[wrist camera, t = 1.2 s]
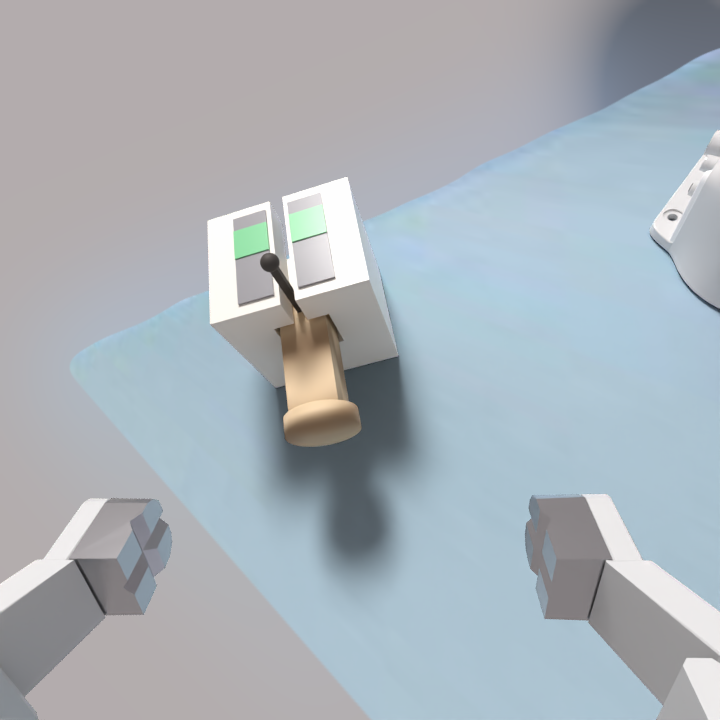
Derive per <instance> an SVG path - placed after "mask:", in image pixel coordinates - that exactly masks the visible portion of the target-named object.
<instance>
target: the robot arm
mask: <svg viewBox="0 0 720 720" xmlns="http://www.w3.org/2000/svg"><path fill="white" fill-rule="evenodd" d="M668 219H673V220H674V221H670V220H668ZM650 234H651V236H652V237H653V239H654V240H655V241H656V242H657V243H659V244H660V245H661V246H662V247H663V248H664V249H666V250H667V251H668V252H669V253H670V255H671V257H672V258H673V260H674V263H675V265H676V267H677V270H678V272H679V273H680V275H681V277H682V278H683V280H684V281H685V282H686V283H687V285H688V286H689V287H690V288H691V289H692V290H693V291H694V292H695V293H696V294H698V295H699V296H700V297H701V298H703V299H704V300H705V301H707V302H709V303H710V304H712V305H714V306H715V307H717V308H719V309H720V130H717V131H716V133H715V134H714V136H713V137H712V139H711V141H710V142H709V144H708V146H707V148H706V150H705V152H704V154H703V156H702V157H701V158H700V160H699V161H698V162H697V164H696V165H695V166H694V168H693V169H692V170H691V172H690V173H689V175H688V176H687V177H686V179H685V180H684V181H683V183H682V184H681V185H680V187H679V188H678V189H677V191H676V192H675V193H674V195H673V196H672V197H671V199H670V200H669V201H668V203H667V204H666V205H665V207H664V208H663V209H662V211H661V212H660V213H659V215H658V216H657V217H656V219H655V220H654V222H653V223H652V225H651V227H650ZM162 512H163V510H162V507H161V505H160V503H159V501H158V500H155V499H118V498H117V499H115V498H113V499H112V498H111V499H92V498H91V499H89V500H87V501H85V502H84V503H83V504H82V505H81V507H80V508H79V509H78V511H77V513H76V514H75V515H74V517H73V518H72V519H71V521H70V522H69V524H68V525H67V527H66V528H65V529H64V531H63V532H62V533H61V535H60V536H59V538H58V539H57V541H56V542H55V544H54V545H53V546H52V548H51V549H50V550H49V552H48V553H47V555H46V556H45V558H44V559H43V560H35V561H34V562H33V563H31V564H29V565H28V566H26V567H25V568H23V569H22V570H21V571H19V572H17V573H16V574H14V575H13V576H12V577H10V578H8V579H7V580H6V581H4V582H3V583H1V584H0V720H38V717H37V712H36V711H35V710H34V709H33V707H32V706H31V705H30V704H29V703H28V701H27V700H26V699H25V698H24V697H25V696H26V695H27V694H28V693H29V692H30V691H31V690H32V689H33V688H34V687H35V686H36V685H37V684H38V683H39V682H40V681H41V680H42V679H43V678H44V677H45V676H46V675H47V674H48V673H49V672H50V671H51V670H52V669H53V668H54V667H55V666H56V665H57V664H58V663H59V662H61V660H63V659H64V658H65V656H67V654H69V653H70V652H71V651H72V650H73V649H74V648H75V647H76V646H77V645H78V644H79V643H80V642H81V641H82V640H83V639H84V638H85V637H86V636H87V635H88V634H89V633H90V632H91V631H92V630H93V629H94V628H95V627H96V626H97V625H98V624H99V623H100V622H101V621H102V620H103V619H104V618H105V615H144V613H145V611H146V608H147V606H148V604H149V602H150V600H151V597H152V595H153V593H154V591H155V589H156V582H155V579H154V576H156V575H157V574H158V573H159V572H160V571H162V570H163V569H164V568H165V566H166V564H167V561H168V559H169V557H170V551H171V546H172V536H171V531H170V528H169V525H168V524H167V523H165V522H164V521H163V520H161V519H160V516H161V514H162ZM529 512H530V515H531V518H532V519H530V520H529V521H528V522H527V523H526V530H525V546H526V553H527V558H528V562H529V566H530V569H531V570H532V571H533V572H534V573H535V574H536V575H538V578H537V583H536V591H537V595H538V598H539V601H540V605H541V608H542V612H543V615H544V619H564V620H589V622H588V623H589V624H590V625H591V626H592V627H593V628H594V629H595V631H596V632H597V633H598V634H599V635H600V636H601V637H602V638H603V639H604V641H605V642H606V643H607V644H608V645H609V646H610V647H611V648H612V649H613V651H614V652H615V653H616V654H617V655H618V656H619V657H620V658H621V659H622V660H623V662H624V663H625V664H626V665H627V666H628V667H629V668H630V669H631V670H632V672H633V673H634V674H635V675H636V676H637V677H638V678H639V679H640V680H641V681H642V683H643V684H644V685H645V686H646V687H647V688H648V689H649V690H650V691H651V693H652V694H653V695H654V696H655V697H656V698H657V699H658V700H659V701H660V703H661V704H662V705H663V707H662V709H661V711H660V713H659V715H658V717H657V719H656V720H720V612H719V611H718V610H717V609H715V608H714V607H713V606H711V605H710V604H709V603H707V602H706V601H705V600H703V599H702V598H701V597H699V596H698V595H697V594H695V593H694V592H693V591H691V590H690V589H689V588H687V587H686V586H685V585H683V584H682V583H681V582H679V581H678V580H677V579H675V578H674V577H672V576H671V575H670V574H668V573H667V572H666V571H664V570H663V569H662V568H660V567H659V566H658V565H656V564H655V563H654V562H652V561H645V560H643V559H642V557H641V555H640V553H639V551H638V549H637V547H636V545H635V543H634V541H633V539H632V537H631V536H630V534H629V532H628V530H627V528H626V526H625V524H624V522H623V520H622V518H621V516H620V514H619V512H618V511H617V509H616V507H615V505H614V503H613V501H612V499H611V497H609V496H608V495H607V494H582V495H579V494H576V495H532V497H531V499H530V502H529Z"/></svg>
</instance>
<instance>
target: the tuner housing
mask: <svg viewBox="0 0 720 720" xmlns="http://www.w3.org/2000/svg"><path fill="white" fill-rule="evenodd" d="M283 204H284V205H283V206H284V213H285V222H286V230H287V237H288V247H289V255H290V259H286V252H285V243H284V234H283V226H282V223H281V221H280V219H279V217H278V215H277V214H276V212H275V210H274V208H273V206H272V205H271V203H270V202H266V203H262V204H260V205H256V206H253V207H250V208H247V209H243V210H240V211H237V212H234V213H231V214H228V215H224V216H221V217H218V218H215V219H212V220H208V253H209V254H208V255H209V298H210V325H211V326H212V327H213V328H214V329H215V330H216V331H217V332H218V333H219V334H221V335H222V336H223V337H224V338H225V339H226V340H227V341H228V342H229V343H230V344H231V345H232V346H233V347H234V348H235V349H236V350H237V351H238V352H239V353H240V354H241V355H242V356H243V357H244V358H245V359H246V360H247V361H248V362H249V363H250V364H251V365H252V366H253V367H254V368H255V369H257V370H258V371H259V372H260V373H261V374H262V375H263V376H264V377H265V378H266V379H267V380H268V381H269V382H270V383H271V384H272V385H273V386H274V387H275V388H277V387H281V386H285V385H286V384H285V374H284V365H283V355H282V345H281V335H280V327H283V326H287V325H291V324H294V318H293V310H292V304H291V302H290V301H289V299H288V298H287V297H286V295H285V294H284V292H283V291H282V289H281V288H280V286H279V285H278V283H277V282H276V280H275V279H274V277H273V276H272V274H271V273H270V272H266V271H264V270H263V269H262V267H261V265H260V259H261V257H262V256H263V255H264V254H266V253H273V254H275V255H276V256H277V257H278V258H279V261H280V264H279V268H280V269H281V271H282V272H283V274H284V275H285V277H286V279H287V280H288V282H289V283H290V285H291V286H292V288H293V289H294V295H295V301H296V303H297V304H298V306H299V307H300V309H301V310H302V312H303V313H304V315H305V316H306V318H307V319H308V320H309V319H312V318H316V317H320V316H323V315H327V314H329V315H330V317H331V319H332V321H333V322H334V324H335V326H336V327H337V332H338V338H339V344H340V351H341V357H342V363H343V369H344V370H347V369H351V368H355V367H359V366H363V365H366V364H370V363H374V362H378V361H382V360H386V359H390V358H394V357H397V356H399V355H398V351H397V346H396V342H395V338H394V333H393V329H392V324H391V320H390V315H389V311H388V307H387V302H386V298H385V293H384V289H383V285H382V280H381V276H380V271H379V268H378V265H377V262H376V259H375V256H374V253H373V250H372V247H371V244H370V241H369V238H368V236H367V233H366V230H365V227H364V224H363V221H362V218H361V216H360V212H359V209H358V207H357V204H356V201H355V198H354V195H353V192H352V189H351V186H350V183H349V180H348V178H347V177H345V178H342V179H339V180H336V181H333V182H330V183H326V184H323V185H320V186H317V187H313V188H310V189H307V190H304V191H301V192H298V193H294V194H291V195H288V196H285V197H283Z"/></svg>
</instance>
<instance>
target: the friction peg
mask: <svg viewBox="0 0 720 720" xmlns="http://www.w3.org/2000/svg"><path fill="white" fill-rule="evenodd" d="M279 264H280V261H279V258H278V257H277V256H276V255H275V254H273V253H266V254H264V255H263V256H262V257H261V259H260V265H261V267H262V269H263V270H264V271H266V272H270V273H271V274H272V276H273V277H274V279H275V280H276V282H277V283H278V285H279V286H280V288H281V289H282V291H283V292H284V294H285V295H286V297H287V298H288V299H289V301H290V302H291V304H292V310H293V318H294V324H291V325H287V326H283V327H280V335H281V345H282V355H283V365H284V374H285V384H286V394H287V404H288V412H287V413H286V414H285V415H284V417H283V423H284V434H285V440H286V441H287V442H288V443H290V444H293V445H297V446H304V447H316V446H325V445H331V444H335V443H339V442H342V441H345V440H348V439H350V438H352V437H354V436H355V435H357V434H358V433H359V432H360V430H361V428H362V427H361V421H360V415H359V410H358V407H357V406H356V405H355V404H354V403H352V402H349V399H348V393H347V387H346V381H345V375H344V369H343V363H342V357H341V351H340V344H339V338H338V332H337V327H336V326H335V324H334V322H333V321H332V319H331V317H330V315H329V314H327V315H323V316H320V317H316V318H312V319H309V320H308V319H307V318H306V316H305V315H304V313H303V312H302V310H301V309H300V307H299V306H298V304H297V303H296V301H295V295H294V289H293V288H292V286H291V285H290V283H289V282H288V280H287V279H286V277H285V275H284V274H283V272H282V271H281V269H280V268H279Z"/></svg>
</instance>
